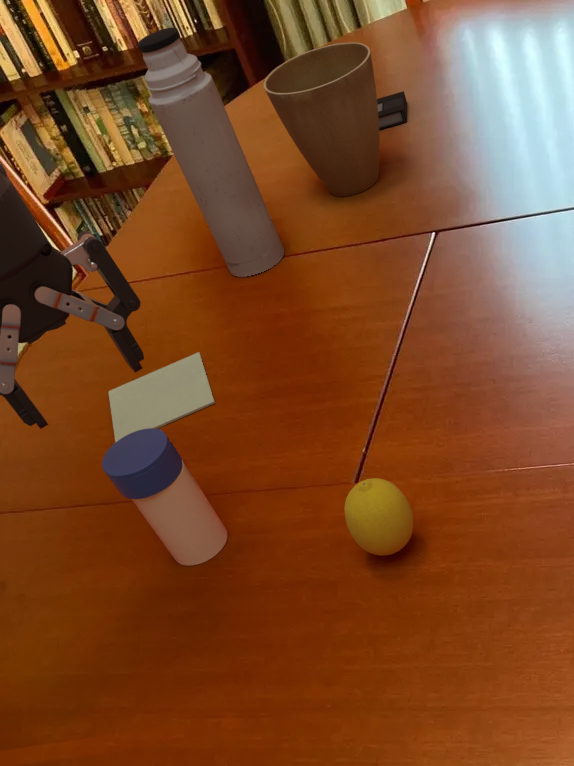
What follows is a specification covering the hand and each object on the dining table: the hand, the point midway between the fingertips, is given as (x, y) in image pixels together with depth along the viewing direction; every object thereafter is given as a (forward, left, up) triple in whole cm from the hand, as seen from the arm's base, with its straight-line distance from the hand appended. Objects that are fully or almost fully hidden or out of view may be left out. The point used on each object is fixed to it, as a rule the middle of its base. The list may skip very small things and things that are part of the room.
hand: (89, 395), depth 70 cm
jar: (0, +1, -18) cm, 18 cm away
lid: (0, +1, -7) cm, 7 cm away
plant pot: (+11, +71, -19) cm, 74 cm away
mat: (-10, +27, -18) cm, 34 cm away
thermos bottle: (-2, +55, -19) cm, 58 cm away
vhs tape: (+11, +92, -19) cm, 95 cm away
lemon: (+20, -5, -19) cm, 28 cm away
